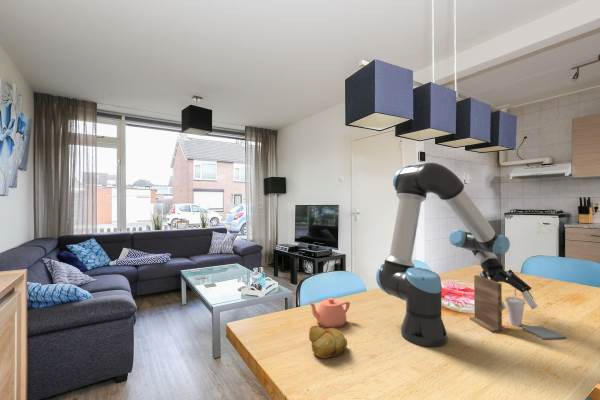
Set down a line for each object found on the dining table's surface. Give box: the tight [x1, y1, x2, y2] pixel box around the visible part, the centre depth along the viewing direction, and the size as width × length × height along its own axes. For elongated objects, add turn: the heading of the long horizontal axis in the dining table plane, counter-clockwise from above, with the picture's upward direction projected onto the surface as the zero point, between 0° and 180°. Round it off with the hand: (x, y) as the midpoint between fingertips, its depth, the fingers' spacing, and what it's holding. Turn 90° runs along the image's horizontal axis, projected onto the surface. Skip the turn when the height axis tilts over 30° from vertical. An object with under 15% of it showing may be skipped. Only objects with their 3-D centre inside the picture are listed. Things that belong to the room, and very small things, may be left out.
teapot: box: [307, 297, 351, 328], centre depth 115 cm, size 12×18×10 cm
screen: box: [469, 274, 508, 334], centre depth 111 cm, size 6×12×18 cm, turn 6°
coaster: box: [520, 325, 567, 340], centre depth 105 cm, size 9×9×1 cm
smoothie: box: [504, 288, 526, 327], centre depth 113 cm, size 6×6×14 cm
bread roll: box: [308, 325, 348, 359], centre depth 92 cm, size 13×10×8 cm
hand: (519, 308), depth 111 cm, fingers open, 13 cm apart
